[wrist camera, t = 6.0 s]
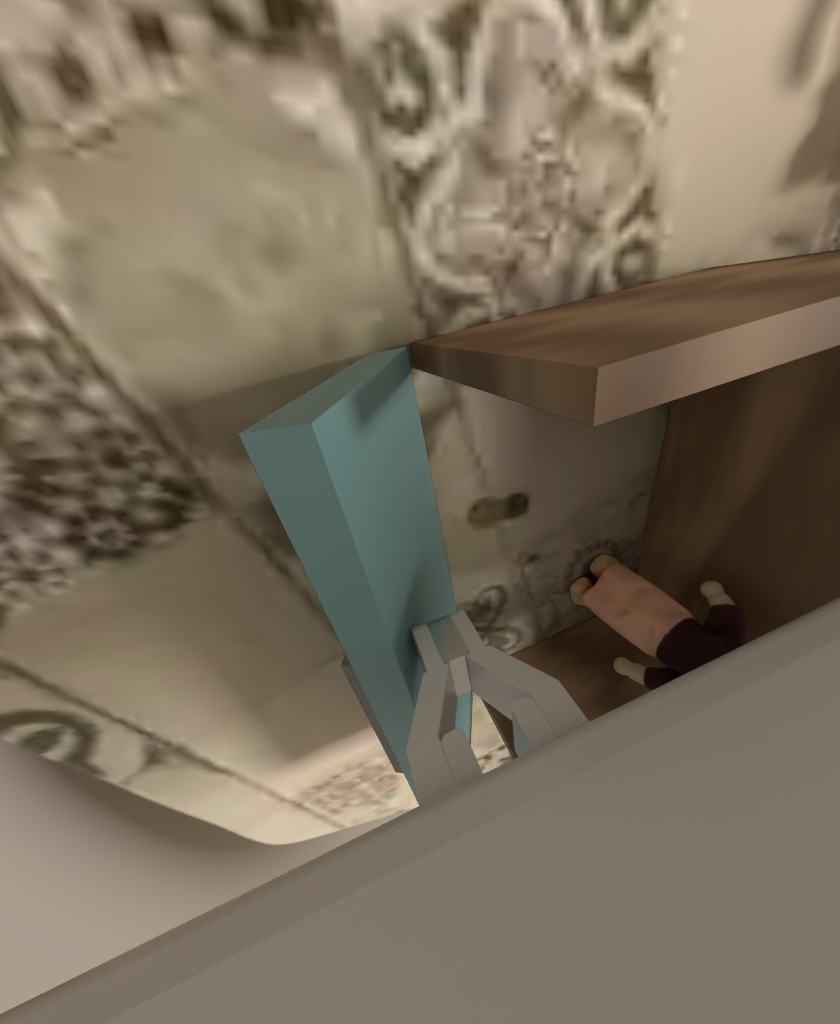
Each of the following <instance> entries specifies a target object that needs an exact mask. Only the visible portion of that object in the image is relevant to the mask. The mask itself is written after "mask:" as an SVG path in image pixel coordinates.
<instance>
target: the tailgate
mask: <svg viewBox="0 0 840 1024" xmlns="http://www.w3.org/2000/svg"><path fill="white" fill-rule="evenodd" d="M239 436H240V438H241V440H242V443H243V445H244V447H245V449H246V451H247V453H248V455H249V457H250V459H251V461H252V463H253V465H254V467H255V469H256V471H257V473H258V475H259V477H260V479H261V481H262V484H263V486H264V488H265V490H266V492H267V494H268V496H269V498H270V500H271V502H272V504H273V506H274V508H275V510H276V512H277V514H278V516H279V518H280V520H281V522H282V525H283V527H284V529H285V531H286V533H287V535H288V537H289V539H290V541H291V543H292V545H293V547H294V549H295V551H296V553H297V555H298V557H299V559H300V561H301V563H302V566H303V568H304V570H305V572H306V574H307V576H308V578H309V580H310V582H311V584H312V586H313V588H314V590H315V592H316V594H317V596H318V598H319V600H320V602H321V604H322V607H323V609H324V611H325V613H326V615H327V617H328V619H329V621H330V623H331V625H332V627H333V629H334V631H335V633H336V635H337V637H338V639H339V641H340V643H341V645H342V648H343V650H344V652H345V657H344V659H343V662H342V665H341V666H342V668H343V670H344V672H345V674H346V676H347V678H348V680H349V682H350V684H351V686H352V688H353V690H354V692H355V694H356V696H357V698H358V700H359V701H360V703H361V705H362V707H363V709H364V711H365V713H366V715H367V717H368V719H369V721H370V723H371V725H372V727H373V729H374V731H375V733H376V735H377V736H378V738H379V740H380V742H381V744H382V746H383V748H384V750H385V752H386V754H387V756H388V758H389V760H390V762H391V764H392V766H393V768H394V770H395V771H396V772H399V773H404V775H405V777H406V779H407V781H408V783H409V785H410V787H411V789H412V791H413V793H414V795H415V797H416V799H417V801H418V803H419V800H418V796H417V792H416V788H415V784H414V780H413V776H412V772H411V769H410V765H409V761H408V757H407V753H406V747H407V743H408V739H409V734H410V730H411V725H412V721H413V717H414V712H415V708H416V703H417V699H418V695H419V690H420V686H421V681H422V677H423V673H425V671H424V668H423V666H422V663H421V660H420V657H419V654H418V651H417V647H416V644H415V641H414V637H413V634H412V631H411V629H413V628H415V627H418V626H421V625H423V624H426V623H428V622H431V621H433V620H436V619H438V618H440V617H443V616H445V615H449V614H451V613H453V612H456V611H457V610H456V605H455V600H454V594H453V589H452V584H451V579H450V573H449V568H448V563H447V557H446V552H445V547H444V541H443V536H442V531H441V526H440V520H439V515H438V510H437V504H436V499H435V494H434V489H433V483H432V478H431V473H430V467H429V462H428V457H427V451H426V446H425V441H424V436H423V430H422V425H421V420H420V414H419V409H418V404H417V399H416V393H415V388H414V383H413V377H412V372H411V367H410V361H409V356H408V351H407V347H402V348H396V349H391V350H386V351H380V352H375V353H370V354H368V355H366V356H365V357H363V358H361V359H360V360H358V361H356V362H355V363H353V364H352V365H350V366H348V367H347V368H345V369H343V370H342V371H340V372H338V373H337V374H335V375H334V376H332V377H330V378H329V379H327V380H325V381H324V382H322V383H320V384H319V385H317V386H316V387H314V388H312V389H311V390H309V391H307V392H306V393H304V394H302V395H301V396H299V397H298V398H296V399H294V400H293V401H291V402H289V403H288V404H286V405H284V406H283V407H281V408H280V409H278V410H276V411H275V412H273V413H271V414H270V415H268V416H266V417H265V418H263V419H262V420H260V421H258V422H257V423H255V424H253V425H252V426H250V427H249V428H247V429H245V430H244V431H242V432H240V433H239ZM457 698H458V701H457V712H456V722H455V729H457V728H458V729H461V730H464V731H465V734H466V736H467V738H468V741H469V743H470V745H471V727H472V700H473V695H472V690H471V691H469V692H467V693H464V694H462V695H460V696H458V697H457ZM419 805H420V804H419Z"/></svg>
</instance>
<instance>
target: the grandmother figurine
mask: <svg viewBox="0 0 840 1024" xmlns="http://www.w3.org/2000/svg"><path fill="white" fill-rule="evenodd" d="M590 571H591V572H592V573H593V574H594V575H595V577H596V578H597V579H599V580H598V581H597V583H596V584H595V586H594V585H593V584H592V583H591V582H590V581H589V580H588V578H586V577H581V578H579V579H577V580H576V581H575V582H574V583H573V584H572V585H571V587H570V594H571V598H572V601H573V603H575V604H577V605H580V606H587V607H588V608H589V609H590V610H591V611H593V612H594V613H595V614H596V615H597V616H598V617H599V618H601V619H602V620H603V621H604V622H606V623H607V624H608V625H609V626H610V627H612V628H613V629H614V630H616V631H617V632H618V633H619V634H621V635H622V636H623V637H624V638H626V639H627V640H628V641H630V642H631V643H632V644H634V645H635V646H636V647H638V648H639V649H640V650H642V651H643V652H645V653H646V654H648V655H651V656H653V657H655V658H657V659H658V660H660V661H661V662H662V663H664V664H666V666H667V667H665V668H655V667H645V666H643V665H640V664H638V663H632V662H631V661H629V660H628V659H626V658H624V657H618V658H616V659H615V660H614V663H613V666H614V669H615V670H616V672H618V673H619V674H622V675H627V676H629V677H630V678H631V679H632V680H634V681H636V682H638V683H640V684H642V685H644V686H645V687H646V688H648V689H651V690H654V689H656V688H658V687H660V686H662V685H664V684H666V683H668V682H670V681H672V680H674V679H676V678H678V677H680V676H682V675H684V674H686V673H688V672H690V671H692V670H694V669H696V668H698V667H700V666H702V665H704V664H706V663H708V662H710V661H713V660H715V659H717V658H719V657H721V656H723V655H725V654H727V653H729V652H731V651H733V650H735V649H737V648H739V647H741V646H743V645H745V644H747V643H749V642H750V634H749V628H748V625H747V621H746V619H745V615H744V612H743V609H742V607H741V606H738V605H735V603H734V602H733V601H732V599H731V598H730V597H729V596H728V595H727V594H725V593H724V589H723V587H722V585H721V584H720V583H718V582H716V581H706V582H704V583H703V584H702V585H701V587H700V590H701V592H702V594H703V595H704V596H705V597H707V598H708V602H709V604H710V606H711V609H710V611H709V613H708V616H707V618H706V619H705V621H704V624H703V625H701V624H700V623H698V622H697V621H696V620H695V618H694V617H693V616H692V614H691V613H690V612H689V611H688V610H687V609H685V608H684V607H683V606H682V605H680V604H679V603H678V602H677V601H675V600H674V599H673V598H671V597H670V596H668V595H667V594H666V593H664V592H663V591H661V590H660V589H659V588H658V587H656V586H655V585H653V584H652V583H651V582H649V581H647V580H646V579H644V578H642V577H641V576H639V575H637V574H636V573H634V572H633V571H631V570H629V569H628V568H626V567H625V566H623V565H621V564H619V561H618V560H617V559H616V558H614V557H611V556H609V555H606V554H602V555H599V556H598V557H597V558H596V559H595V560H594V561H593V562H592V564H591V566H590Z"/></svg>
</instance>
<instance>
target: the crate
mask: <svg viewBox="0 0 840 1024" xmlns="http://www.w3.org/2000/svg"><path fill="white" fill-rule="evenodd" d="M410 343H411V348H412V353H413V359H414V364H415V369H418V370H421V371H425V372H428V373H431V374H434V375H437V376H440V377H443V378H446V379H449V380H452V381H455V382H458V383H461V384H464V385H467V386H470V387H473V388H476V389H479V390H482V391H485V392H488V393H491V394H494V395H497V396H501V397H504V398H507V399H510V400H513V401H516V402H519V403H522V404H525V405H528V406H531V407H534V408H537V409H540V410H543V411H546V412H549V413H552V414H555V415H558V416H561V417H564V418H567V419H570V420H574V421H577V422H580V423H583V424H586V425H589V426H592V427H595V426H598V425H601V424H604V423H607V422H610V421H613V420H616V419H619V418H622V417H625V416H628V415H631V414H634V413H637V412H640V411H643V410H646V409H649V408H652V407H655V406H658V405H661V404H664V403H667V402H670V401H672V402H671V407H670V412H669V417H668V422H667V426H666V431H665V436H664V441H663V446H662V451H661V456H660V461H659V466H658V471H657V476H656V481H655V486H654V491H653V496H652V501H651V506H650V511H649V516H648V520H647V525H646V530H645V535H644V540H643V545H642V550H641V555H640V560H639V565H638V570H637V575H639V576H641V577H642V578H644V579H646V580H647V581H649V582H651V583H652V584H653V585H655V586H656V587H658V588H659V589H660V590H661V591H663V592H664V593H666V594H667V595H668V596H670V597H671V598H673V599H674V600H675V601H677V602H678V603H679V604H680V605H682V606H683V607H684V608H685V609H687V610H688V611H689V612H690V613H691V614H692V616H693V617H694V618H695V620H696V621H697V622H698V623H700V624H701V625H703V624H704V621H705V619H706V618H707V616H708V613H709V611H710V609H711V606H710V604H709V602H708V598H707V597H705V596H704V595H703V594H702V592H701V590H700V587H701V585H702V584H703V583H704V582H706V581H716V582H718V583H720V584H721V585H722V587H723V589H724V593H725V594H727V595H728V596H729V597H730V598H731V599H732V601H733V602H734V603H735V605H738V606H741V607H742V609H743V612H744V615H745V619H746V621H747V625H748V628H749V634H750V642H751V641H753V640H755V639H757V638H759V637H761V636H763V635H765V634H767V633H769V632H771V631H773V630H775V629H777V628H779V627H781V626H783V625H785V624H787V623H789V622H791V621H793V620H795V619H797V618H799V617H801V616H803V615H805V614H807V613H809V612H811V611H813V610H815V609H817V608H819V607H821V606H823V605H825V604H827V603H829V602H831V601H833V600H835V599H837V598H839V597H840V250H836V251H828V252H821V253H814V254H807V255H799V256H792V257H785V258H777V259H770V260H763V261H755V262H748V263H741V264H734V265H726V266H719V267H713V268H709V269H705V270H700V271H696V272H692V273H688V274H684V275H680V276H676V277H672V278H668V279H664V280H660V281H656V282H652V283H648V284H644V285H640V286H636V287H632V288H628V289H624V290H620V291H616V292H612V293H608V294H604V295H600V296H596V297H592V298H588V299H584V300H580V301H576V302H571V303H567V304H563V305H559V306H555V307H551V308H547V309H543V310H539V311H535V312H531V313H527V314H523V315H519V316H515V317H511V318H507V319H503V320H499V321H495V322H491V323H487V324H483V325H479V326H475V327H471V328H467V329H463V330H459V331H455V332H451V333H447V334H443V335H438V336H434V337H430V338H426V339H422V340H418V341H414V342H410ZM510 656H512V657H514V658H516V659H518V660H520V661H522V662H524V663H526V664H528V665H530V666H532V667H534V668H536V669H538V670H540V671H541V672H543V673H545V674H547V675H549V676H551V677H553V678H555V679H557V680H559V682H560V683H561V684H562V686H563V687H564V688H565V690H566V691H567V692H568V694H569V695H570V696H571V698H572V699H573V700H574V702H575V703H576V704H577V706H578V707H579V709H580V710H581V711H582V713H583V714H584V715H585V717H586V718H587V719H588V721H589V722H590V721H592V720H594V719H596V718H598V717H600V716H602V715H604V714H606V713H608V712H610V711H612V710H614V709H616V708H618V707H620V706H622V705H624V704H626V703H628V702H630V701H632V700H634V699H636V698H638V697H640V696H642V695H644V694H646V693H648V692H650V691H652V690H651V689H648V688H646V687H645V686H644V685H642V684H640V683H638V682H636V681H634V680H632V679H631V678H630V677H629V676H627V675H622V674H619V673H618V672H616V670H615V669H614V666H613V663H614V660H615V659H616V658H618V657H624V658H626V659H628V660H629V661H631V662H632V663H638V664H640V665H643V666H645V667H655V668H665V667H667V666H666V664H664V663H662V662H661V661H660V660H658V659H657V658H655V657H653V656H651V655H648V654H646V653H645V652H643V651H642V650H640V649H639V648H638V647H636V646H635V645H634V644H632V643H631V642H630V641H628V640H627V639H626V638H624V637H623V636H622V635H621V634H619V633H618V632H617V631H616V630H614V629H613V628H612V627H610V626H609V625H608V624H607V623H606V622H604V621H603V620H602V619H601V618H599V617H598V616H595V617H593V618H591V619H589V620H587V621H584V622H582V623H580V624H578V625H576V626H574V627H571V628H569V629H567V630H565V631H563V632H561V633H558V634H556V635H554V636H552V637H550V638H547V639H545V640H543V641H541V642H539V643H537V644H534V645H532V646H530V647H528V648H526V649H524V650H521V651H519V652H517V653H515V654H513V655H510ZM481 699H482V698H481ZM482 701H483V703H484V704H485V706H486V708H487V710H488V712H489V714H490V716H491V718H492V720H493V722H494V724H495V725H496V727H497V729H498V731H499V733H500V735H501V737H502V739H503V741H504V743H505V745H506V746H507V748H508V750H509V752H510V754H511V756H512V758H513V759H515V758H517V757H518V756H517V754H516V752H515V748H514V734H513V721H512V720H510V719H509V718H508V717H506V716H505V715H503V714H502V713H501V712H499V711H498V710H497V709H495V708H494V707H493V706H491V705H490V704H489V703H487V702H486V701H484V700H483V699H482Z"/></svg>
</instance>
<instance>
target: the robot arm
mask: <svg viewBox="0 0 840 1024" xmlns="http://www.w3.org/2000/svg"><path fill="white" fill-rule="evenodd" d="M411 631H412V634H413V637H414V641H415V644H416V647H417V651H418V654H419V657H420V660H421V663H422V666H423V668H424V671H425V673H423V677H422V681H421V686H420V690H419V695H418V699H417V703H416V708H415V712H414V717H413V721H412V725H411V730H410V734H409V739H408V743H407V747H406V753H407V757H408V761H409V765H410V769H411V772H412V776H413V780H414V784H415V788H416V792H417V796H418V800H419V804H420V806H419V807H417V808H415V809H413V810H411V811H409V812H407V813H405V814H403V815H401V816H399V817H397V818H395V819H393V820H390V821H389V822H386V823H384V824H382V825H380V826H378V827H376V828H374V829H372V830H370V831H368V832H366V833H364V834H362V835H360V836H358V837H356V838H354V839H352V840H350V841H349V842H346V843H344V844H343V845H341V846H338V847H336V848H334V849H332V850H330V851H328V852H326V853H324V854H322V855H320V856H318V857H316V858H314V859H312V860H310V861H308V862H306V863H304V864H302V865H300V866H298V867H296V868H294V869H292V870H290V871H288V872H286V873H284V874H282V875H280V876H278V877H276V878H274V879H272V880H270V881H268V882H266V883H264V884H262V885H260V886H258V887H256V888H254V889H252V890H250V891H248V892H246V893H244V894H242V895H240V896H238V897H236V898H234V899H232V900H229V901H227V902H226V903H223V904H221V905H219V906H217V907H215V908H213V909H211V910H209V911H207V912H206V913H204V914H201V915H199V916H198V917H195V918H193V919H192V920H189V921H187V922H185V923H183V924H181V925H179V926H178V927H175V928H173V929H171V930H169V931H167V932H165V933H163V934H161V935H159V936H157V937H155V938H153V939H151V940H149V941H147V942H145V943H143V944H141V945H139V946H137V947H135V948H133V949H131V950H129V951H127V952H125V953H123V954H121V955H119V956H117V957H115V958H113V959H111V960H109V961H107V962H105V963H103V964H101V965H99V966H97V967H95V968H93V969H91V970H89V971H87V972H85V973H83V974H81V975H79V976H77V977H75V978H73V979H71V980H69V981H67V982H65V983H63V984H61V985H59V986H57V987H55V988H53V989H51V990H49V991H47V992H45V993H43V994H40V995H38V996H36V997H34V998H32V999H30V1000H28V1001H26V1002H24V1003H22V1004H20V1005H18V1006H16V1007H14V1008H12V1009H10V1010H8V1011H6V1012H4V1013H2V1014H0V1024H840V597H839V598H837V599H835V600H833V601H831V602H829V603H827V604H825V605H823V606H821V607H819V608H817V609H815V610H813V611H811V612H809V613H807V614H805V615H803V616H801V617H799V618H797V619H795V620H793V621H791V622H789V623H787V624H785V625H783V626H781V627H779V628H777V629H775V630H773V631H771V632H769V633H767V634H765V635H763V636H761V637H759V638H757V639H755V640H753V641H751V642H749V643H747V644H745V645H743V646H741V647H739V648H737V649H735V650H733V651H731V652H729V653H727V654H725V655H723V656H721V657H719V658H717V659H715V660H713V661H710V662H708V663H706V664H704V665H702V666H700V667H698V668H696V669H694V670H692V671H690V672H688V673H686V674H684V675H682V676H680V677H678V678H676V679H674V680H672V681H670V682H668V683H666V684H664V685H662V686H660V687H658V688H656V689H654V690H652V691H650V692H648V693H646V694H644V695H642V696H640V697H638V698H636V699H634V700H632V701H630V702H628V703H626V704H624V705H622V706H620V707H618V708H616V709H614V710H612V711H610V712H608V713H606V714H604V715H602V716H600V717H598V718H596V719H594V720H592V721H590V722H589V721H588V719H587V718H586V717H585V715H584V714H583V713H582V711H581V710H580V709H579V707H578V706H577V704H576V703H575V702H574V700H573V699H572V698H571V696H570V695H569V694H568V692H567V691H566V690H565V688H564V687H563V686H562V684H561V683H560V682H559V680H557V679H555V678H553V677H551V676H549V675H547V674H545V673H543V672H541V671H540V670H538V669H536V668H534V667H532V666H530V665H528V664H526V663H524V662H522V661H520V660H518V659H516V658H514V657H512V656H510V655H509V654H507V653H505V652H503V651H501V650H499V649H497V648H495V647H493V646H491V645H489V646H485V644H484V642H483V641H482V639H481V637H480V636H479V634H478V632H477V631H476V629H475V627H474V626H473V624H472V622H471V621H470V619H469V617H468V616H467V614H466V612H465V611H464V610H463V609H461V610H458V611H456V612H453V613H451V614H449V615H445V616H443V617H440V618H438V619H436V620H433V621H431V622H428V623H426V624H423V625H421V626H418V627H415V628H413V629H411ZM471 690H472V692H474V693H475V694H476V695H478V696H479V697H480V698H482V699H483V700H484V701H486V702H487V703H489V704H490V705H491V706H493V707H494V708H495V709H497V710H498V711H499V712H501V713H502V714H503V715H505V716H506V717H508V718H509V719H510V720H512V721H513V734H514V748H515V752H516V754H517V756H518V757H517V758H515V759H513V760H511V761H509V762H507V763H505V764H503V765H501V766H499V767H497V768H495V769H493V770H491V771H489V772H487V773H485V774H483V773H482V771H481V769H480V766H479V764H478V762H477V759H476V757H475V755H474V752H473V750H472V748H471V745H470V743H469V741H468V738H467V736H466V734H465V731H464V730H461V729H458V728H457V729H455V722H456V712H457V701H458V698H457V697H458V696H460V695H462V694H464V693H467V692H469V691H471Z"/></svg>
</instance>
